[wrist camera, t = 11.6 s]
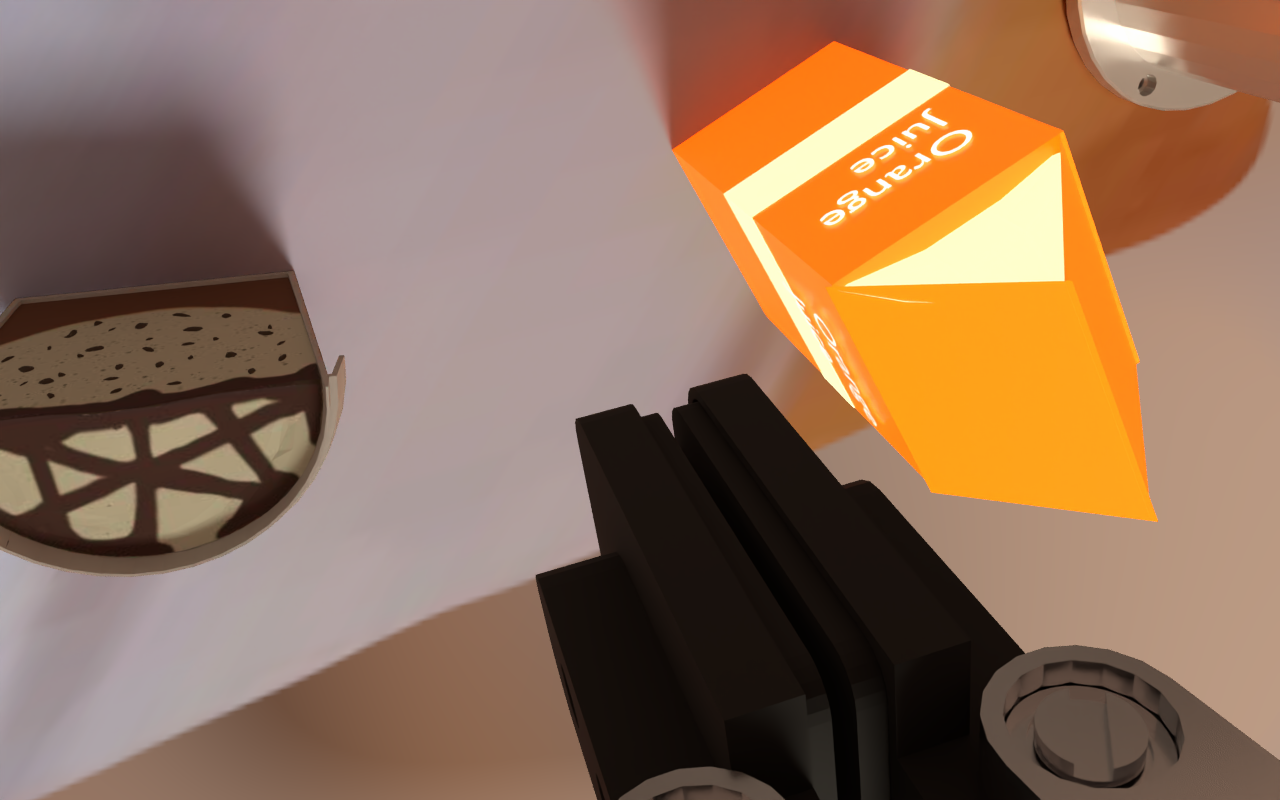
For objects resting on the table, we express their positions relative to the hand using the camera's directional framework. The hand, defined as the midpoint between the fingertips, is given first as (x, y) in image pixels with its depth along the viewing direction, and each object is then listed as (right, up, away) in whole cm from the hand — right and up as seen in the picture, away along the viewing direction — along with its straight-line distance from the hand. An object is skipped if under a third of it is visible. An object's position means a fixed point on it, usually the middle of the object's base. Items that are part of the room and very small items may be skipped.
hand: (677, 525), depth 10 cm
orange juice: (+6, +10, +34) cm, 35 cm away
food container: (-18, +3, +30) cm, 35 cm away
